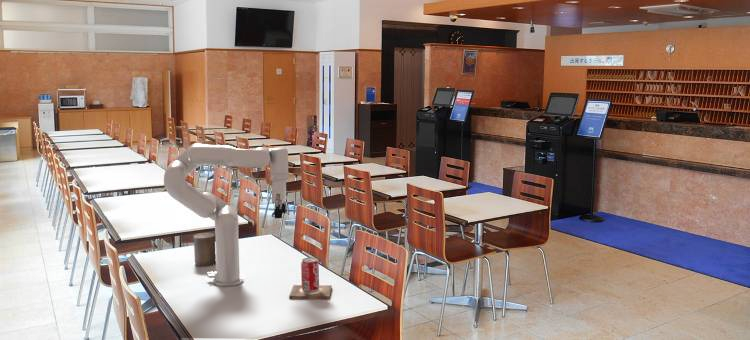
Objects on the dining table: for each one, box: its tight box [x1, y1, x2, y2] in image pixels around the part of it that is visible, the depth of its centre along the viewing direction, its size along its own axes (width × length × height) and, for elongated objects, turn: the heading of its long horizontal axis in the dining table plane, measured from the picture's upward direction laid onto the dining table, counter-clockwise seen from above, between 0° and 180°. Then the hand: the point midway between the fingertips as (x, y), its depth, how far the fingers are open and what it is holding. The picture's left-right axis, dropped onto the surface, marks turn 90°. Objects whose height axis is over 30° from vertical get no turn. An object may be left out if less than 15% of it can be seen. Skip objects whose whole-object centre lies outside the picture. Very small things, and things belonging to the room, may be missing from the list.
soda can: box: [300, 257, 320, 293], centre depth 262 cm, size 7×7×13 cm
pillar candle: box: [193, 232, 217, 267], centre depth 302 cm, size 10×10×15 cm
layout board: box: [288, 284, 333, 300], centre depth 264 cm, size 16×13×1 cm
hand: (280, 215), depth 278 cm, fingers open, 9 cm apart
